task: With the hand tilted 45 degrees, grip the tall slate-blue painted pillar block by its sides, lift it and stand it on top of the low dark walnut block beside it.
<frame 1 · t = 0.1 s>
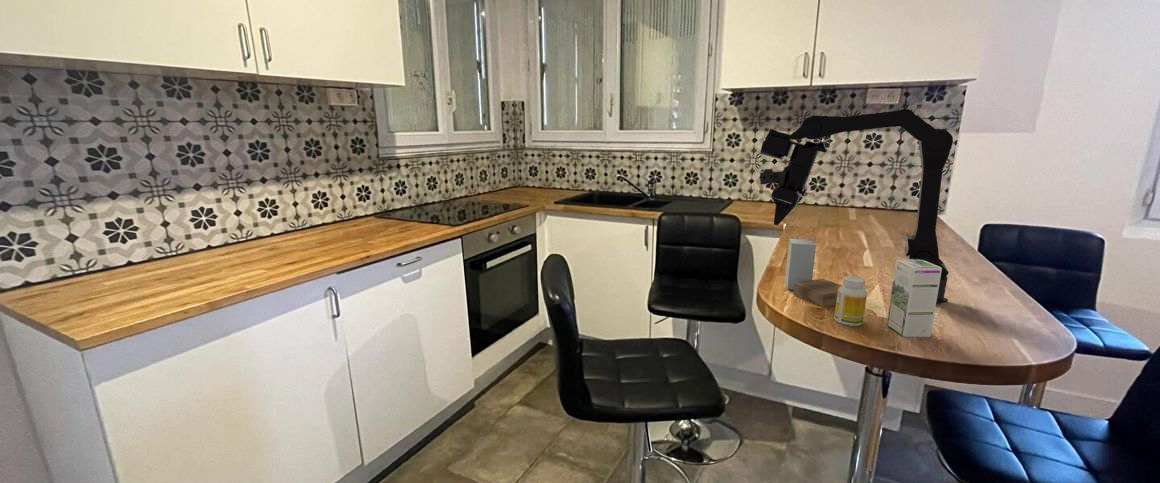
hand: (778, 221, 130), 15 cm above the table, tool pointing down, fingers open, 9 cm apart
slate pillar: (797, 286, 126), on the table
syrup box: (907, 332, 99), on the table
supplement bottle: (848, 322, 104), on the table
walnut block: (821, 299, 118), on the table
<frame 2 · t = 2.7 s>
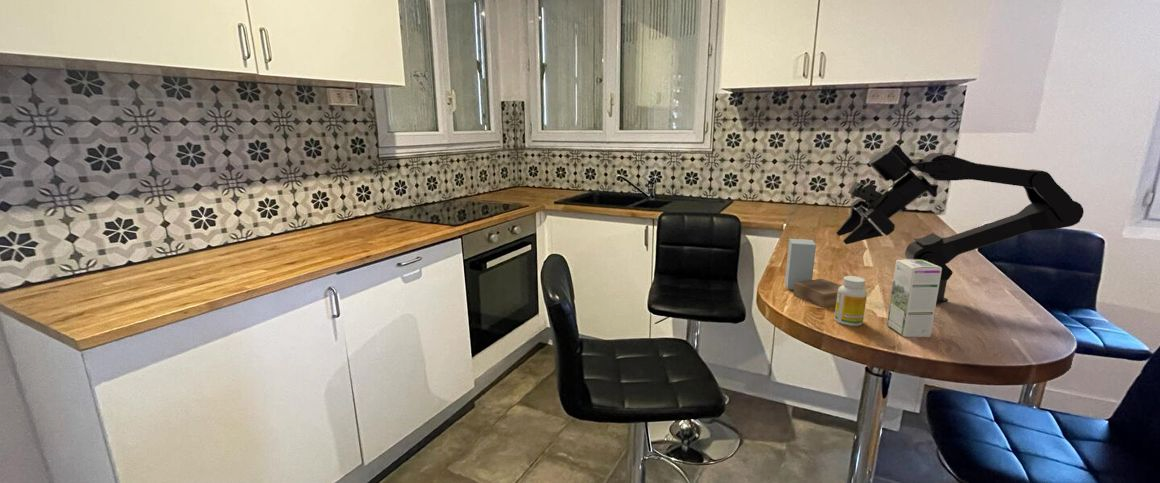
hand: (840, 238, 120), 13 cm above the table, tool tilted 45°, fingers open, 9 cm apart
nothing on the table moved.
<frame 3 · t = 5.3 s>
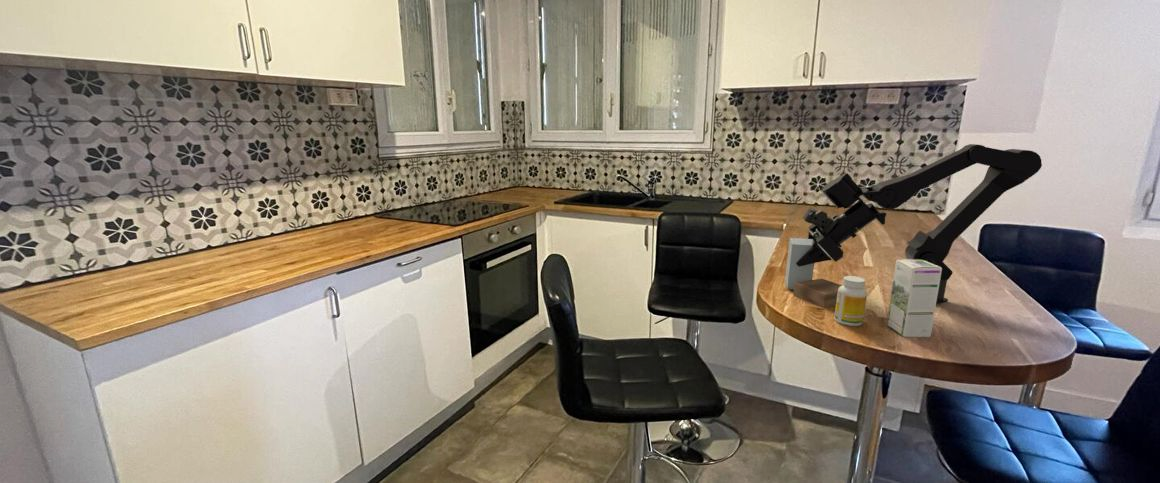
hand: (796, 261, 124), 7 cm above the table, tool tilted 45°, fingers closed on slate pillar, 6 cm apart
slate pillar: (797, 286, 126), on the table, touching gripper
everything else where it was.
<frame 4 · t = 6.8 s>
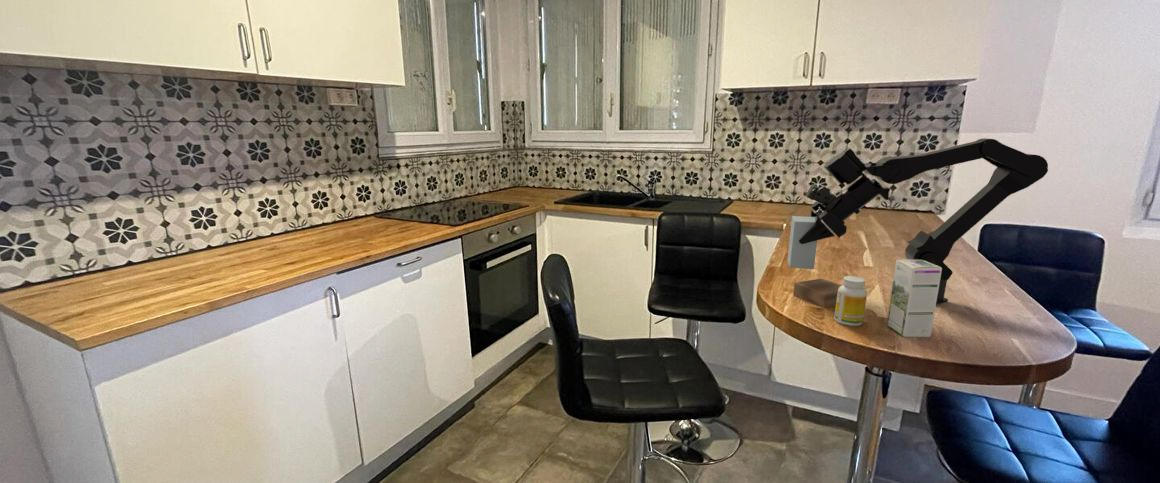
hand: (798, 240, 123), 12 cm above the table, tool tilted 45°, fingers closed on slate pillar, 6 cm apart
slate pillar: (800, 264, 125), point 6 cm above the table, touching gripper
everything else where it was.
when the fingers open (11 cm above the table, at t = 8.3 s): slate pillar drops 2 cm, resting on walnut block.
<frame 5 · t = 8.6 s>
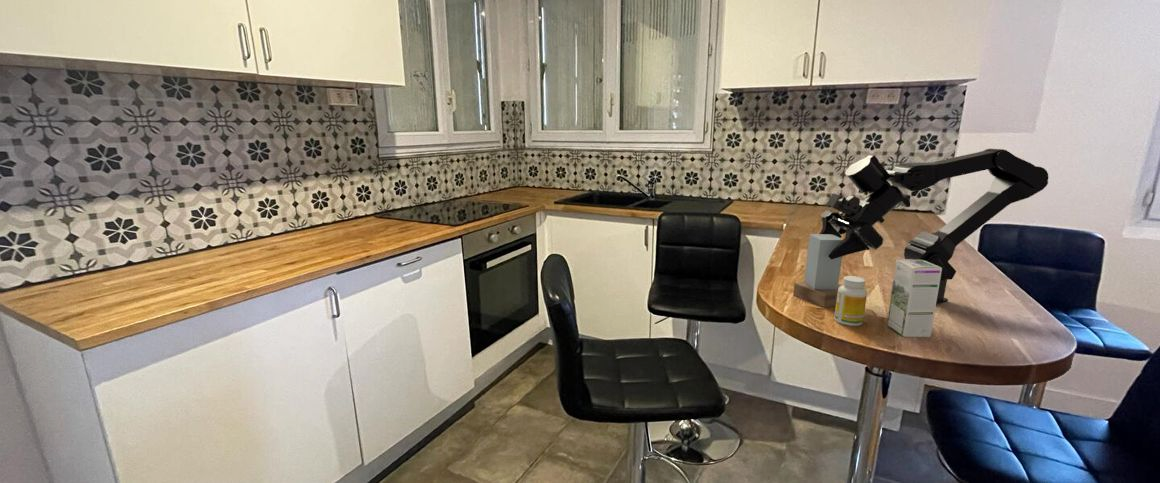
hand: (821, 253, 115), 11 cm above the table, tool tilted 45°, fingers open, 8 cm apart
slate pillar: (820, 285, 117), point 3 cm above the table, touching walnut block
walnut block: (821, 300, 118), on the table, touching slate pillar
everything else where it was.
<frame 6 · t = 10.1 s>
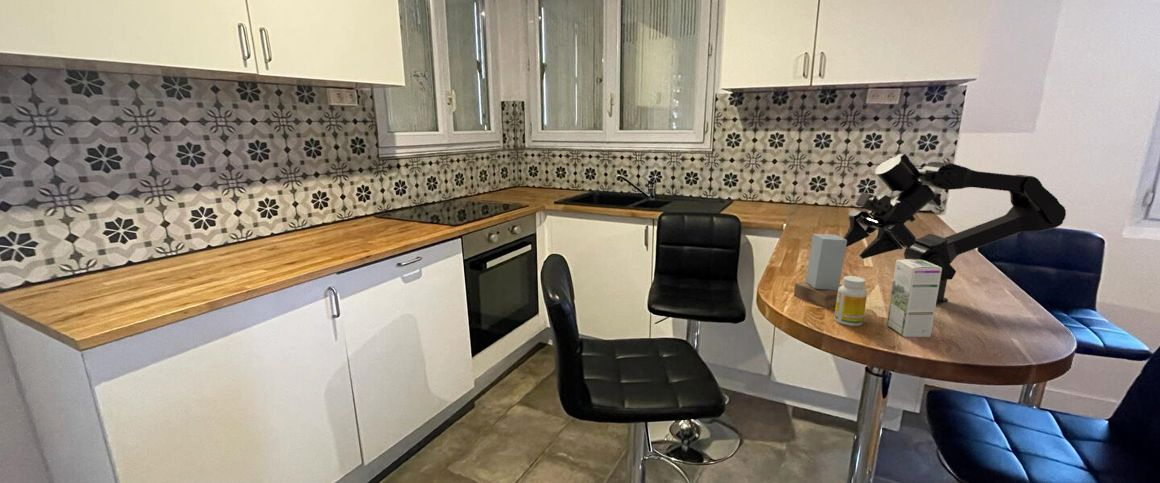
hand: (850, 252, 115), 12 cm above the table, tool tilted 45°, fingers open, 9 cm apart
nothing on the table moved.
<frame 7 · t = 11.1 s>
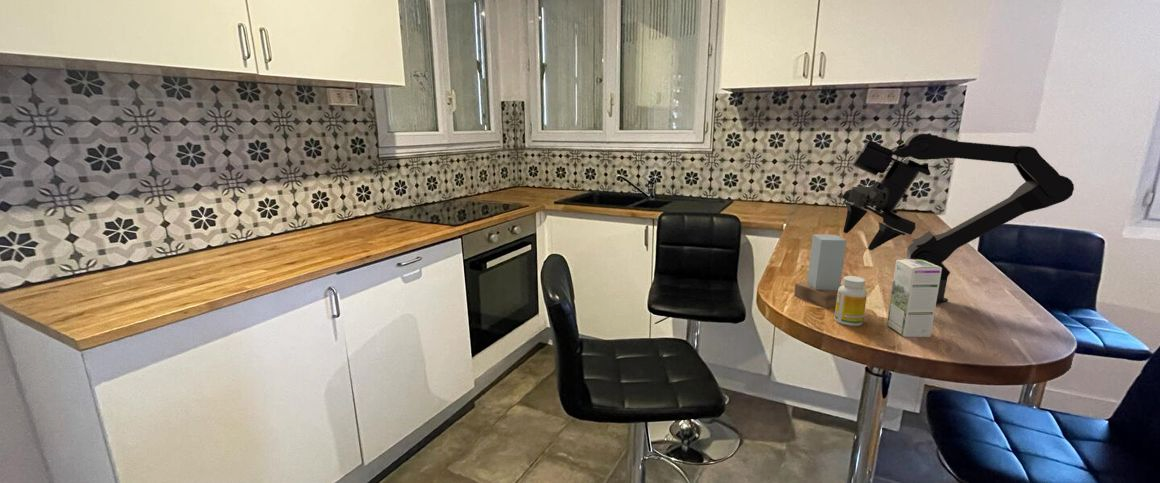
hand: (856, 240, 121), 13 cm above the table, tool tilted 25°, fingers open, 9 cm apart
nothing on the table moved.
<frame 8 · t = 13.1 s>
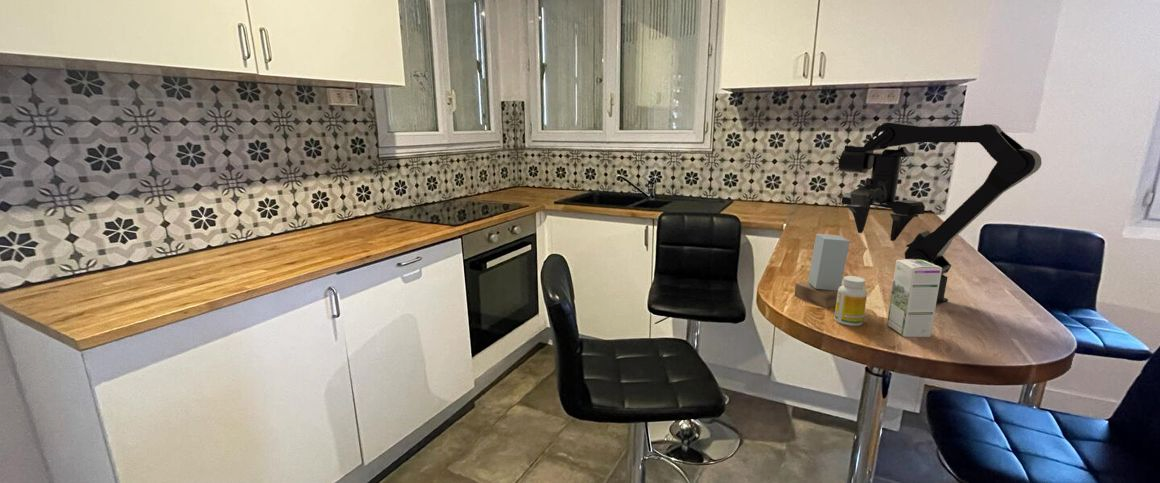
hand: (875, 236, 124), 13 cm above the table, tool pointing down, fingers open, 9 cm apart
at the end: slate pillar inside the target area on the walnut block (0.3 cm from its centre), point 3.7 cm above the walnut block's base; slate pillar tilted 3°; the gripper is holding nothing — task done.
